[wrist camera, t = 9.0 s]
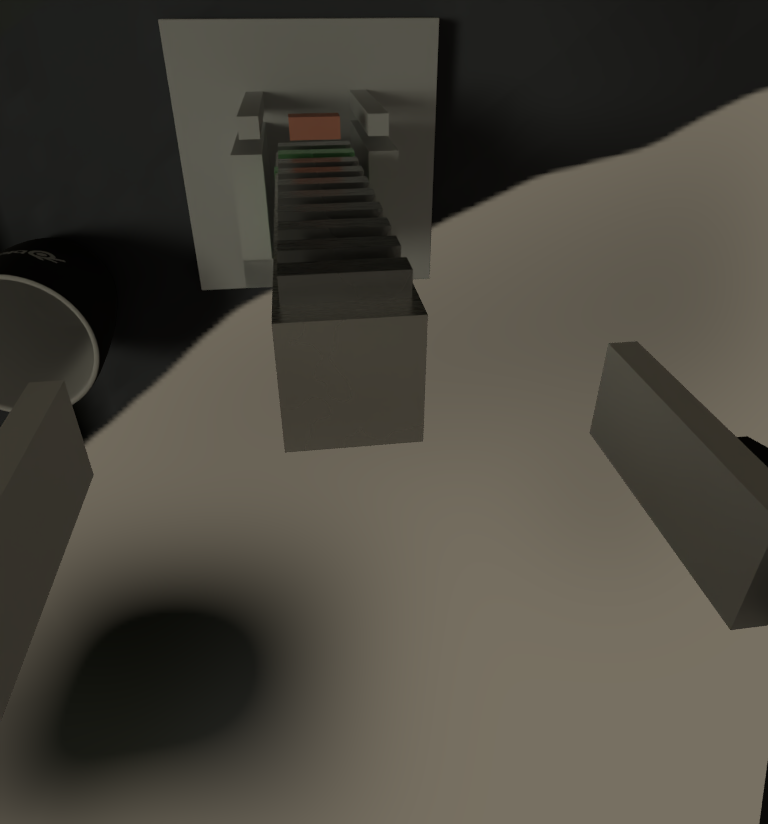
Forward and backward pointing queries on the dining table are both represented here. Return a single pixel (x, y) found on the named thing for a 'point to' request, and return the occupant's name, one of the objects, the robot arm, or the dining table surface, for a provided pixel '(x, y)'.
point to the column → (342, 308)
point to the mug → (53, 317)
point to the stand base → (298, 125)
